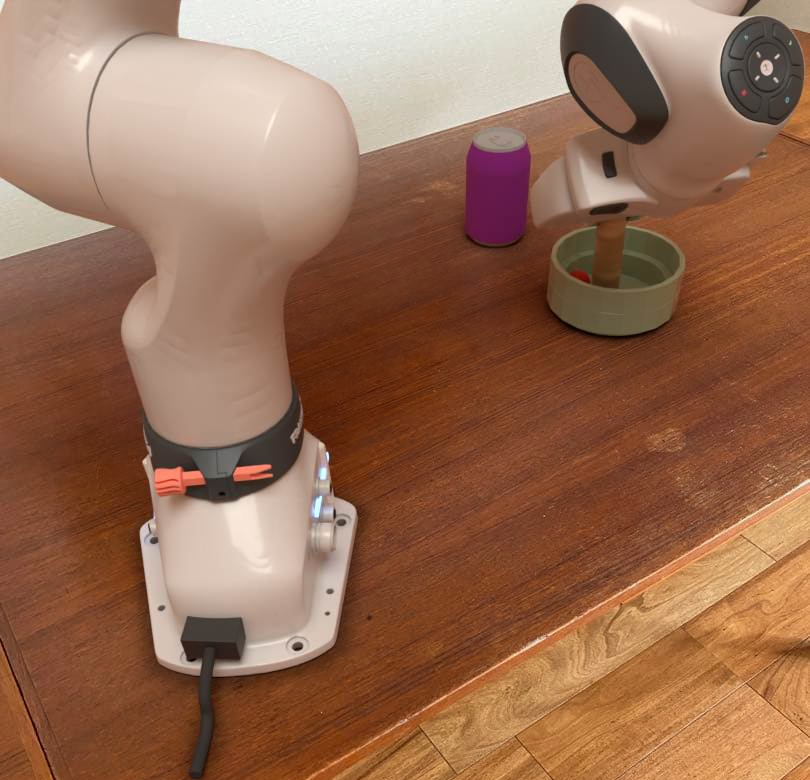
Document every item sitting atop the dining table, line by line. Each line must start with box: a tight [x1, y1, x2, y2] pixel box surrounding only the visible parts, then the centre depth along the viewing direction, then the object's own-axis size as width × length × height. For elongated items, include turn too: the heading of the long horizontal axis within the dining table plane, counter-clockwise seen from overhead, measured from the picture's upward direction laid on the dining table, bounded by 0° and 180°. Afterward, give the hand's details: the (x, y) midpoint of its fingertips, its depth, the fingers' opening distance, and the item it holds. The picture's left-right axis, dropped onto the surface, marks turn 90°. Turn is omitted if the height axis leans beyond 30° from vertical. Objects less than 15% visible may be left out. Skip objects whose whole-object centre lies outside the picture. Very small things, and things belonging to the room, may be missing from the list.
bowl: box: [546, 225, 686, 337], centre depth 96 cm, size 14×14×6 cm
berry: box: [569, 270, 591, 284], centre depth 97 cm, size 3×3×3 cm
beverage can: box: [464, 126, 532, 248], centre depth 105 cm, size 8×8×12 cm
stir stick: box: [591, 217, 628, 289], centre depth 90 cm, size 3×3×16 cm
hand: (609, 216), depth 89 cm, fingers closed on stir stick, 3 cm apart
